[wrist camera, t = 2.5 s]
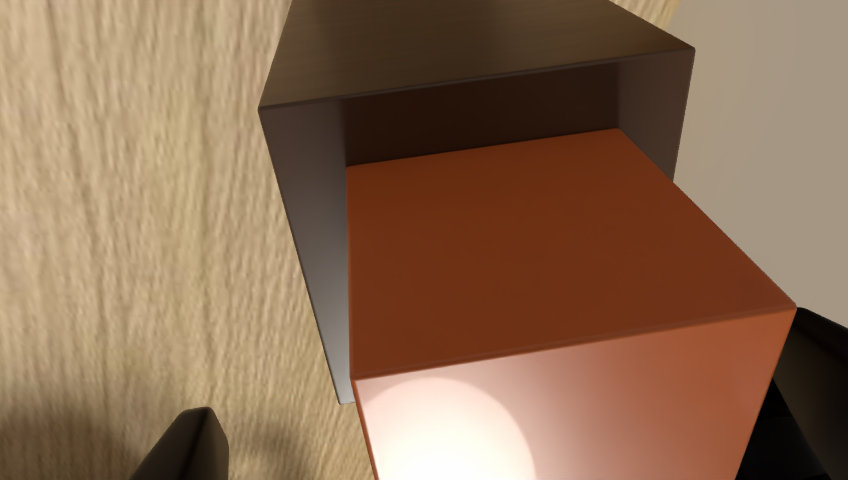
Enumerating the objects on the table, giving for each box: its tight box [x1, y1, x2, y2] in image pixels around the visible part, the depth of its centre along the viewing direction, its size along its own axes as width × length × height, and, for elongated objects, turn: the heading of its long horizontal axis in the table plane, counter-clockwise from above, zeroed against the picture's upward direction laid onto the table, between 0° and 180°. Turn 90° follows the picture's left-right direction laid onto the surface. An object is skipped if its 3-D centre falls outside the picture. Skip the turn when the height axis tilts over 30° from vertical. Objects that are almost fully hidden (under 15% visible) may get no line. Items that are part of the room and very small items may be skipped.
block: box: [346, 128, 797, 480], centre depth 8 cm, size 4×4×4 cm
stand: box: [258, 0, 695, 405], centre depth 14 cm, size 6×6×12 cm
